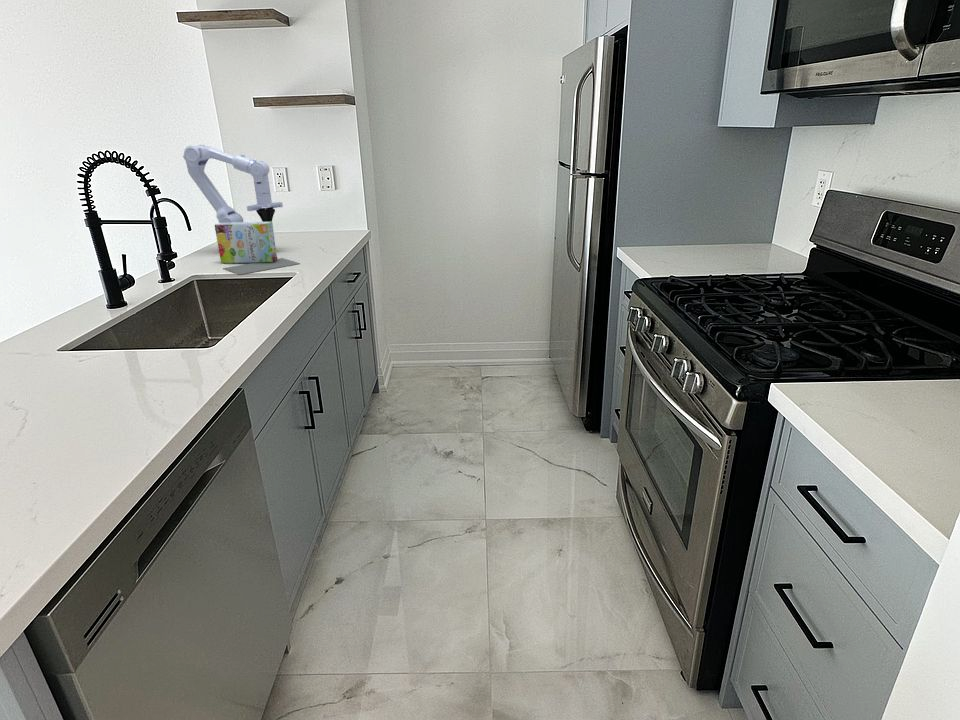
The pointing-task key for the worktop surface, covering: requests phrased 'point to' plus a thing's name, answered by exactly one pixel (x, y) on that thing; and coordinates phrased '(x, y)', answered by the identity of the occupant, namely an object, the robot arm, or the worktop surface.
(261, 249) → the snack box
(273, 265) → the mat
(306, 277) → the worktop surface
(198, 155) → the robot arm
